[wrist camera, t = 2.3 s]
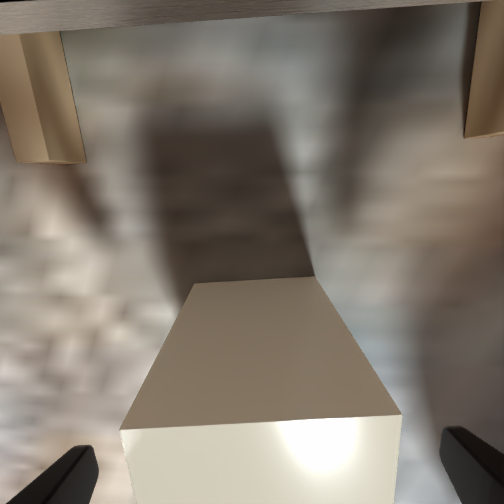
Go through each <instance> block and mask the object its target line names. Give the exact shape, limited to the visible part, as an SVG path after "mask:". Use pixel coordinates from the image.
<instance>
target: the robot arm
mask: <svg viewBox="0 0 504 504" xmlns="http://www.w3.org/2000/svg"><path fill="white" fill-rule="evenodd" d="M439 453H440V458H441V461H442V464H443V466H444V468H445V470H446V472H447V474H448V476H449V478H450V480H451V482H452V484H453V486H454V488H455V491H456V493H457V495H458V497H459V499H460V501H461V503H462V504H504V454H503V453H501V452H500V451H498V450H497V449H495V448H494V447H492V446H491V445H489V444H488V443H486V442H485V441H483V440H482V439H480V438H479V437H477V436H476V435H474V434H473V433H471V432H470V431H468V430H467V429H465V428H463V427H461V426H447V427H444V428H443V430H442V436H441V442H440V449H439ZM98 474H99V468H98V464H97V460H96V456H95V453H94V449H93V447H92V446H91V445H77V446H74V447H73V448H71V449H70V450H69V451H68V452H66V453H65V454H64V455H63V456H62V457H61V458H59V459H58V460H57V461H56V462H55V463H53V464H52V465H51V466H50V467H49V468H48V469H46V470H45V471H44V472H43V473H42V474H40V475H39V476H38V477H37V478H36V479H35V480H33V481H32V482H31V483H30V484H29V485H27V486H26V487H25V488H24V489H23V490H22V491H20V492H19V493H18V494H17V495H16V496H14V497H13V498H12V499H11V500H10V501H9V502H7V503H6V504H89V502H90V500H91V497H92V494H93V491H94V488H95V485H96V482H97V479H98Z"/></svg>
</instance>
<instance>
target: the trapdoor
mask: <svg viewBox="0 0 504 504" xmlns="http://www.w3.org/2000/svg"><path fill="white" fill-rule="evenodd" d="M477 1H491V0H0V35H9V34H23V33H37V32H52V31H66V30H80V29H94V28H108V27H122V26H137V25H151V24H165V23H179V22H193V21H208V20H222V19H236V18H250V17H264V16H279V15H293V14H307V13H321V12H335V11H349V10H364V9H378V8H392V7H406V6H420V5H435V4H449V3H463V2H477Z"/></svg>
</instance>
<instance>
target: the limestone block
mask: <svg viewBox="0 0 504 504" xmlns="http://www.w3.org/2000/svg"><path fill="white" fill-rule="evenodd" d="M401 423H402V414H401V412H400V410H399V409H398V407H397V406H396V404H395V402H394V401H393V399H392V398H391V396H390V395H389V393H388V391H387V390H386V388H385V387H384V385H383V383H382V382H381V380H380V379H379V377H378V376H377V374H376V372H375V371H374V369H373V368H372V366H371V364H370V363H369V361H368V360H367V358H366V357H365V355H364V353H363V352H362V350H361V349H360V347H359V345H358V344H357V342H356V341H355V339H354V337H353V336H352V334H351V333H350V331H349V330H348V328H347V326H346V325H345V323H344V322H343V320H342V318H341V317H340V315H339V314H338V312H337V311H336V309H335V307H334V306H333V304H332V303H331V301H330V299H329V298H328V296H327V295H326V293H325V292H324V290H323V288H322V287H321V285H320V284H319V282H318V280H317V279H316V277H315V276H313V277H296V278H280V279H263V280H246V281H229V282H212V283H195V284H194V285H193V287H192V289H191V291H190V293H189V295H188V297H187V299H186V301H185V303H184V305H183V307H182V309H181V311H180V313H179V315H178V317H177V318H176V320H175V322H174V324H173V326H172V328H171V330H170V332H169V334H168V336H167V338H166V340H165V342H164V344H163V346H162V348H161V350H160V352H159V353H158V355H157V357H156V359H155V361H154V363H153V365H152V367H151V369H150V371H149V373H148V375H147V377H146V379H145V381H144V383H143V385H142V387H141V388H140V390H139V392H138V394H137V396H136V398H135V400H134V402H133V404H132V406H131V408H130V410H129V412H128V414H127V416H126V418H125V420H124V421H123V423H122V425H121V427H120V429H119V432H120V436H121V440H122V444H123V449H124V453H125V457H126V462H127V466H128V470H129V474H130V479H131V483H132V487H133V492H134V496H135V500H136V504H394V495H395V484H396V474H397V464H398V454H399V444H400V433H401Z"/></svg>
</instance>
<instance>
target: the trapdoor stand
mask: <svg viewBox="0 0 504 504" xmlns="http://www.w3.org/2000/svg"><path fill="white" fill-rule="evenodd" d="M0 104H1V107H2V111H3V115H4V118H5V122H6V126H7V130H8V133H9V137H10V141H11V144H12V148H13V152H14V156H15V159H16V162H19V163H39V164H59V165H61V164H76V163H87V162H86V157H85V153H84V148H83V143H82V138H81V133H80V128H79V124H78V119H77V114H76V109H75V104H74V99H73V95H72V90H71V85H70V80H69V75H68V70H67V66H66V61H65V56H64V51H63V46H62V41H61V37H60V32H59V31H52V32H37V33H23V34H9V35H0ZM499 135H504V0H491V1H482V3H481V11H480V19H479V26H478V34H477V42H476V50H475V58H474V65H473V73H472V81H471V89H470V97H469V104H468V112H467V120H466V128H465V135H464V138H478V137H493V136H499Z"/></svg>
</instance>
